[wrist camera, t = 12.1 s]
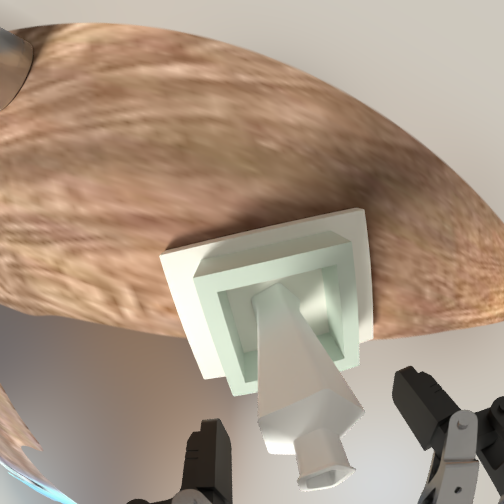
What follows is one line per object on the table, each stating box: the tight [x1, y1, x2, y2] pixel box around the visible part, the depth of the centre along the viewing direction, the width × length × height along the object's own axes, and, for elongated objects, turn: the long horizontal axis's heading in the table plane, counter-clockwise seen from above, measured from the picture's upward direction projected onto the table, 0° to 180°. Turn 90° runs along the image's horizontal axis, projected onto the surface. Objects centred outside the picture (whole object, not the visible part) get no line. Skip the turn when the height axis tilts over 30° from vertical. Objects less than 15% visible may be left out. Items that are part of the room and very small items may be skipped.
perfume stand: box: [159, 208, 373, 396], centre depth 20 cm, size 16×12×6 cm
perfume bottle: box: [251, 283, 365, 491], centre depth 14 cm, size 5×4×15 cm
